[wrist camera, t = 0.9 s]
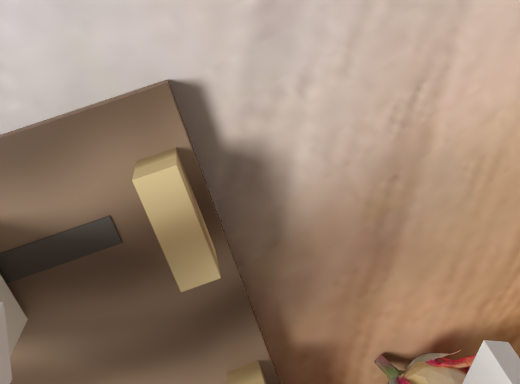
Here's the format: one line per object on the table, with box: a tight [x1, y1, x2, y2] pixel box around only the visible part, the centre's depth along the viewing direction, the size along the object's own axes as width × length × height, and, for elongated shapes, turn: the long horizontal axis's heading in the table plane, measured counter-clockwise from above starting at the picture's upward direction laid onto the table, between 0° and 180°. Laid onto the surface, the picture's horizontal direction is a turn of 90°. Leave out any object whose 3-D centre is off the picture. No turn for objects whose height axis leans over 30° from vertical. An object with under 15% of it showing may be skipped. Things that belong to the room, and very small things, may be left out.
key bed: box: [0, 80, 280, 384], centre depth 26 cm, size 26×17×4 cm, turn 17°
